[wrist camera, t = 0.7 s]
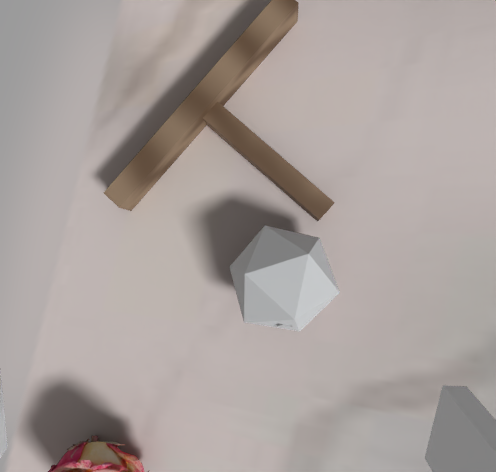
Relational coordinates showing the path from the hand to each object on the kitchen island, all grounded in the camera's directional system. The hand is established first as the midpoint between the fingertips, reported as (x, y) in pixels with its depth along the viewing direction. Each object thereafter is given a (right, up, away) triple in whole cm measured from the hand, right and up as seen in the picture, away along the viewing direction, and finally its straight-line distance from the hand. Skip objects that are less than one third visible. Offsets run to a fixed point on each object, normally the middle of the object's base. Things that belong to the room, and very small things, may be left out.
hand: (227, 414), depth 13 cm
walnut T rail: (+2, +13, +28) cm, 30 cm away
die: (+4, +2, +27) cm, 28 cm away
